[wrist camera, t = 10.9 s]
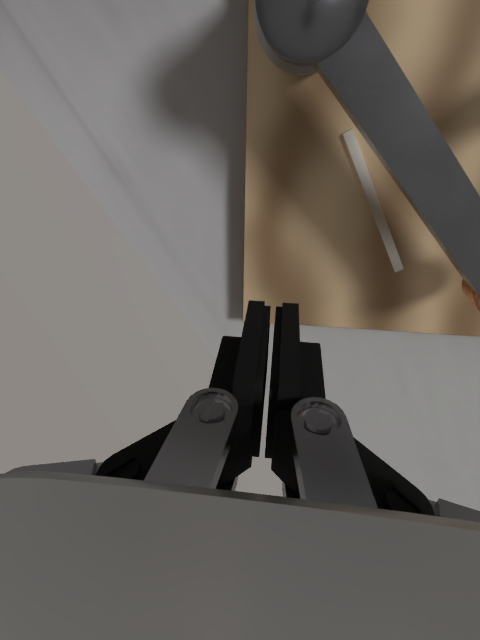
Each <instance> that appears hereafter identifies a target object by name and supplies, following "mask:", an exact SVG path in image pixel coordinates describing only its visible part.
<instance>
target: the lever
mask: <svg viewBox="0 0 480 640" xmlns="http://www.w3.org/2000/svg"><path fill="white" fill-rule="evenodd" d="M368 2H369V0H255V5H256V12H257V17H258V21H259V24H260V27H261V29H262V32H263V34H264V37H265V39H266V41H267V43H268V45H269V46H270V48H271V49H272V50H273V52H274V53H275V54H276V55H277V56H278V57H279V58H281V59H282V60H284V61H285V62H287V63H290V64H292V65H296V66H310V65H313V67H314V68H315V69H316V71H317V72H318V74H319V75H320V77H321V78H322V79H323V81H324V82H325V84H326V85H327V86H328V88H329V89H330V91H331V92H332V94H333V95H334V96H335V98H336V99H337V101H338V102H339V104H340V105H341V106H342V108H343V109H344V111H345V112H346V113H347V115H348V116H349V118H350V119H351V121H352V122H353V123H354V125H355V126H356V128H357V129H358V130H359V132H360V133H361V135H362V136H363V138H364V139H365V140H366V142H367V143H368V145H369V146H370V148H371V149H372V150H373V152H374V153H375V155H376V156H377V157H378V159H379V160H380V162H381V163H382V165H383V166H384V167H385V169H386V170H387V172H388V173H389V175H390V176H391V177H392V179H393V180H394V182H395V183H396V184H397V186H398V187H399V189H400V190H401V192H402V193H403V194H404V196H405V197H406V199H407V200H408V201H409V203H410V204H411V206H412V207H413V209H414V210H415V211H416V213H417V214H418V216H419V217H420V219H421V220H422V221H423V223H424V224H425V226H426V227H427V228H428V230H429V231H430V233H431V234H432V236H433V237H434V238H435V240H436V241H437V243H438V244H439V246H440V247H441V248H442V250H443V251H444V253H445V254H446V255H447V257H448V258H449V260H450V261H451V263H452V264H453V265H454V267H455V268H456V270H457V271H458V272H459V274H460V275H461V277H462V278H463V279H462V291H463V293H464V294H465V296H466V297H467V298H468V299H469V300H470V301H471V302H472V304H473V305H474V306H475V307H476V308H477V309H478V311H479V312H480V196H479V194H478V192H477V191H476V189H475V188H474V186H473V184H472V183H471V181H470V179H469V178H468V176H467V175H466V173H465V171H464V170H463V168H462V166H461V165H460V163H459V162H458V160H457V158H456V157H455V155H454V153H453V152H452V150H451V149H450V147H449V145H448V144H447V142H446V140H445V139H444V137H443V136H442V134H441V132H440V131H439V129H438V127H437V126H436V124H435V123H434V121H433V119H432V118H431V116H430V115H429V113H428V111H427V110H426V108H425V106H424V105H423V103H422V102H421V100H420V98H419V97H418V95H417V93H416V92H415V90H414V89H413V87H412V85H411V84H410V82H409V80H408V79H407V77H406V76H405V74H404V72H403V71H402V69H401V67H400V66H399V64H398V63H397V61H396V59H395V58H394V56H393V55H392V53H391V51H390V50H389V48H388V46H387V45H386V43H385V42H384V40H383V38H382V37H381V35H380V33H379V32H378V30H377V29H376V27H375V25H374V24H373V22H372V20H371V19H370V17H369V16H368V14H367V12H366V9H367V5H368Z"/></svg>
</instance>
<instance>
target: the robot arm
mask: <svg viewBox="0 0 480 640" xmlns="http://www.w3.org/2000/svg"><path fill="white" fill-rule="evenodd" d="M270 312H271V306H265V301H253V300H249V302H248V307H247V312H246V317H245V322H244V327H243V332H242V337H231V336H223V338H222V341H221V344H220V348H219V352H218V356H217V359H216V363H215V367H214V370H213V374H212V378H211V381H210V385H209V388H206V389H202V390H200V391H197V392H196V393H194V394H193V395H191V396H190V397H189V399H188V400H187V401H186V403H185V405H184V407H183V408H182V410H181V412H180V414H179V416H178V418H177V420H175V421H173V422H172V423H170V424H168V425H166V426H164V427H162V428H161V429H159V430H157V431H155V432H153V433H151V434H150V435H148V436H146V437H144V438H142V439H141V440H139V441H137V442H135V443H133V444H131V445H130V446H128V447H126V448H124V449H122V450H120V451H119V452H117V453H115V454H113V455H112V456H111V457H109V458H108V459H106V460H105V461H104V462H101V463H96V460H95V459H90V460H80V461H70V462H61V463H51V464H40V465H31V466H23V467H18V468H14V469H13V470H10V471H9V472H7V473H4V474H0V640H480V511H477V510H474V509H471V508H468V507H464V506H461V505H458V504H455V503H452V502H449V501H446V500H442V499H438V501H437V502H434V501H431V500H428V499H427V497H426V496H425V495H424V494H423V493H422V492H421V491H420V490H419V489H418V488H417V487H415V486H414V485H413V484H411V483H410V482H409V481H408V480H406V479H405V478H404V477H403V476H401V475H400V474H399V473H398V472H396V471H395V470H394V469H393V468H391V467H390V466H389V465H388V464H386V463H385V462H384V461H383V460H381V459H380V458H379V457H378V456H376V455H375V454H374V453H373V452H371V451H370V450H369V449H368V448H366V447H365V446H364V445H363V444H361V443H360V442H359V441H357V440H356V439H355V438H354V437H353V435H352V432H351V429H350V426H349V424H348V421H347V418H346V416H345V414H344V412H343V410H342V409H341V408H340V407H339V406H338V405H337V404H335V403H333V402H331V401H330V400H327V399H326V398H325V388H324V378H323V368H322V358H321V348H320V344H319V343H308V342H300V333H299V304H298V303H282V307H279V306H276V313H275V326H274V339H273V352H272V365H271V379H270V392H269V406H268V420H267V434H266V448H265V458H272V464H271V470H272V471H273V472H274V473H275V474H276V475H277V476H278V477H279V478H280V479H281V480H282V481H283V484H282V486H283V487H282V490H283V497H280V496H271V495H262V494H254V493H246V492H238V491H235V488H236V485H237V480H238V475H240V474H241V473H243V472H244V471H245V470H247V469H248V468H250V467H251V462H252V456H254V457H259V452H260V441H261V430H262V419H263V408H264V397H265V385H266V374H267V360H268V344H269V328H270Z"/></svg>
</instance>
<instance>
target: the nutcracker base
mask: <svg viewBox="0 0 480 640" xmlns="http://www.w3.org/2000/svg"><path fill="white" fill-rule="evenodd" d="M366 12H367V14H368V16H369V17H370V19H371V20H372V22H373V24H374V25H375V27H376V29H377V30H378V32H379V33H380V35H381V37H382V38H383V40H384V42H385V43H386V45H387V46H388V48H389V50H390V51H391V53H392V55H393V56H394V58H395V59H396V61H397V63H398V64H399V66H400V67H401V69H402V71H403V72H404V74H405V76H406V77H407V79H408V80H409V82H410V84H411V85H412V87H413V89H414V90H415V92H416V93H417V95H418V97H419V98H420V100H421V102H422V103H423V105H424V106H425V108H426V110H427V111H428V113H429V115H430V116H431V118H432V119H433V121H434V123H435V124H436V126H437V127H438V129H439V131H440V132H441V134H442V136H443V137H444V139H445V140H446V142H447V144H448V145H449V147H450V149H451V150H452V152H453V153H454V155H455V157H456V158H457V160H458V162H459V163H460V165H461V166H462V168H463V170H464V171H465V173H466V175H467V176H468V178H469V179H470V181H471V183H472V184H473V186H474V188H475V189H476V191H477V192H478V194H479V196H480V0H369V2H368V5H367V9H366ZM462 279H463V278H462V277H461V275H460V274H459V272H458V271H457V270H456V268H455V267H454V265H453V264H452V263H451V261H450V260H449V258H448V257H447V255H446V254H445V253H444V251H443V250H442V248H441V247H440V246H439V244H438V243H437V241H436V240H435V238H434V237H433V236H432V234H431V233H430V231H429V230H428V228H427V227H426V226H425V224H424V223H423V221H422V220H421V219H420V217H419V216H418V214H417V213H416V211H415V210H414V209H413V207H412V206H411V204H410V203H409V201H408V200H407V199H406V197H405V196H404V194H403V193H402V192H401V190H400V189H399V187H398V186H397V184H396V183H395V182H394V180H393V179H392V177H391V176H390V175H389V173H388V172H387V170H386V169H385V167H384V166H383V165H382V163H381V162H380V160H379V159H378V157H377V156H376V155H375V153H374V152H373V150H372V149H371V148H370V146H369V145H368V143H367V142H366V140H365V139H364V138H363V136H362V135H361V133H360V132H359V130H358V129H357V128H356V126H355V125H354V123H353V122H352V121H351V119H350V118H349V116H348V115H347V113H346V112H345V111H344V109H343V108H342V106H341V105H340V104H339V102H338V101H337V99H336V98H335V96H334V95H333V94H332V92H331V91H330V89H329V88H328V86H327V85H326V84H325V82H324V81H323V79H322V78H321V77H320V75H319V74H318V72H317V71H316V69H315V68H314V67H313V65H310V66H296V65H292V64H290V63H287V62H285V61H284V60H282V59H281V58H279V57H278V56H277V55H276V54H275V53H274V52H273V50H272V49H271V48H270V46H269V45H268V43H267V41H266V39H265V37H264V34H263V32H262V29H261V27H260V24H259V21H258V17H257V12H256V5H255V0H248V55H247V115H246V175H245V236H244V296H243V321H245V317H246V312H247V307H248V302H249V300H253V301H265V306H271V312H270V323H275V313H276V306H279V307H282V303H298V304H299V325H314V326H329V327H344V328H360V329H375V330H390V331H406V332H421V333H436V334H451V335H467V336H480V312H479V311H478V309H477V308H476V307H475V306H474V305H473V304H472V302H471V301H470V300H469V299H468V298H467V297H466V296H465V294H464V293H463V291H462Z"/></svg>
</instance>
